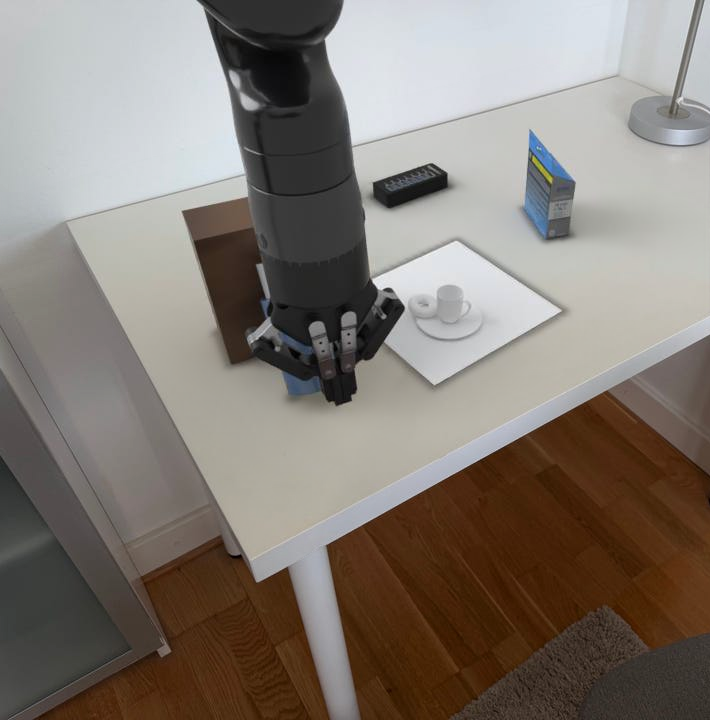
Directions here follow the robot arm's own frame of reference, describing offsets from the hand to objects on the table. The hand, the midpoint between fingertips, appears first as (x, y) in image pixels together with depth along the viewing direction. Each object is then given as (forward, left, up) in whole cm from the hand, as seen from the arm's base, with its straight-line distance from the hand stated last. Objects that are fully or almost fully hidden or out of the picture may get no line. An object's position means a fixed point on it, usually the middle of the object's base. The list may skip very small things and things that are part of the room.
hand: (340, 397), depth 60 cm
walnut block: (0, +22, -9) cm, 23 cm away
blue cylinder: (0, +13, -9) cm, 16 cm away
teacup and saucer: (+19, +18, -9) cm, 27 cm away
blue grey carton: (+40, +29, -9) cm, 50 cm away
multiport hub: (+26, +45, -9) cm, 53 cm away
